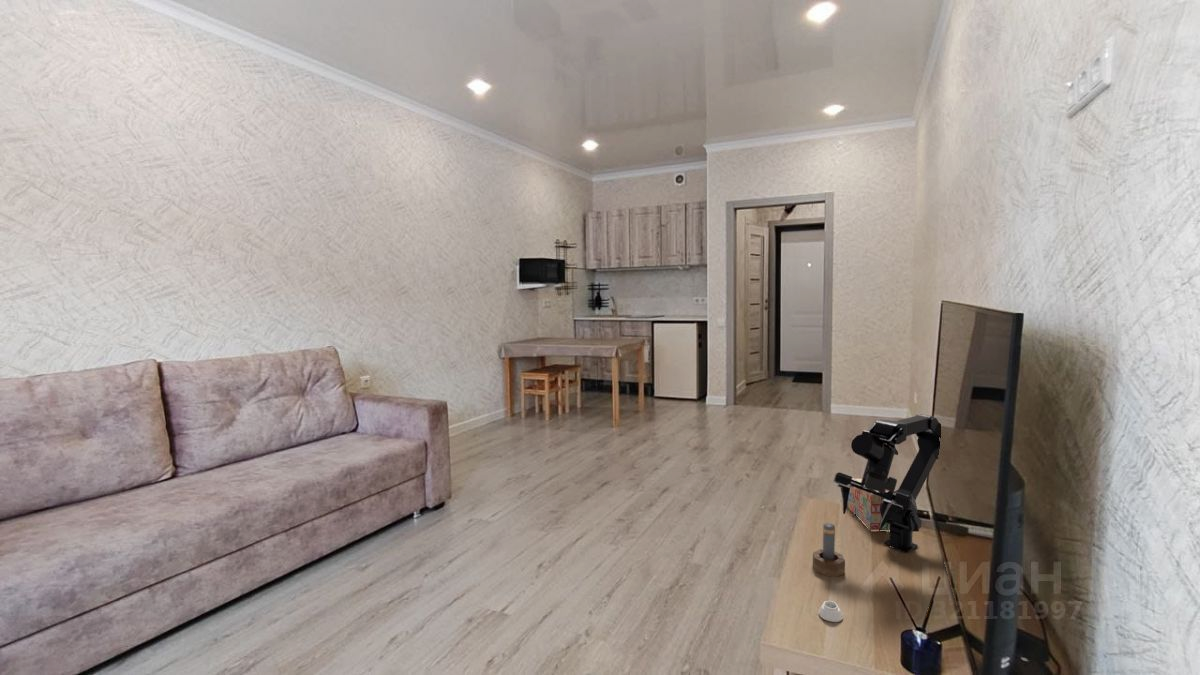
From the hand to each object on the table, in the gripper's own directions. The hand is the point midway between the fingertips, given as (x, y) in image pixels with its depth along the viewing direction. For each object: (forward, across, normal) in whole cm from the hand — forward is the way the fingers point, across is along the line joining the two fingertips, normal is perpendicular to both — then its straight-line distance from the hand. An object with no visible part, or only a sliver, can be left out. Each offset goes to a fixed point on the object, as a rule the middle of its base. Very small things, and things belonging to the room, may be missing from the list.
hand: (862, 520), depth 144 cm
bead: (+15, -4, 0) cm, 16 cm away
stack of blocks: (-2, +5, +35) cm, 35 cm away
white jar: (+23, -3, -21) cm, 31 cm away
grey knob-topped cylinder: (+15, -4, 0) cm, 16 cm away
